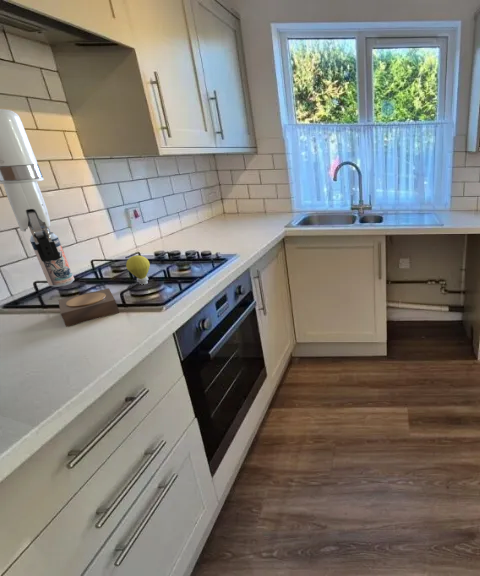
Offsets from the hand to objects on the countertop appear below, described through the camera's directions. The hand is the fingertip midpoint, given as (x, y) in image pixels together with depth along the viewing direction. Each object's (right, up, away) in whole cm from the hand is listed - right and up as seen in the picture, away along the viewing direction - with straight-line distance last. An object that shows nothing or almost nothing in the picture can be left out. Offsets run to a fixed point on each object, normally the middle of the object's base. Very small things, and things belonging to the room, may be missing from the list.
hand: (51, 256), depth 83 cm
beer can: (0, -6, +3) cm, 7 cm away
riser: (-8, -14, +21) cm, 27 cm away
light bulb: (-6, -6, +42) cm, 43 cm away
